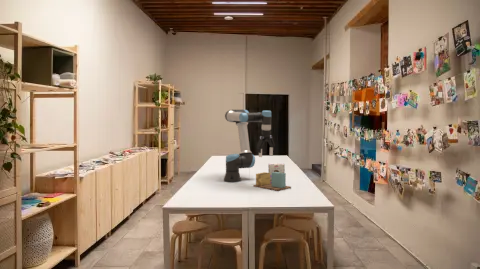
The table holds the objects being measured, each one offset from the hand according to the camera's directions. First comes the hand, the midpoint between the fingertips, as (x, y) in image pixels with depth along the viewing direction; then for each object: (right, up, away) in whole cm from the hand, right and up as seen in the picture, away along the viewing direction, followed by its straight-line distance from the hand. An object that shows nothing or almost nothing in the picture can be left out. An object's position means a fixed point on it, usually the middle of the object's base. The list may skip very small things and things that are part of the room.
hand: (265, 156), depth 290 cm
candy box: (+11, -24, +20) cm, 33 cm away
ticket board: (+5, -25, 0) cm, 26 cm away
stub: (+10, -24, -5) cm, 26 cm away
